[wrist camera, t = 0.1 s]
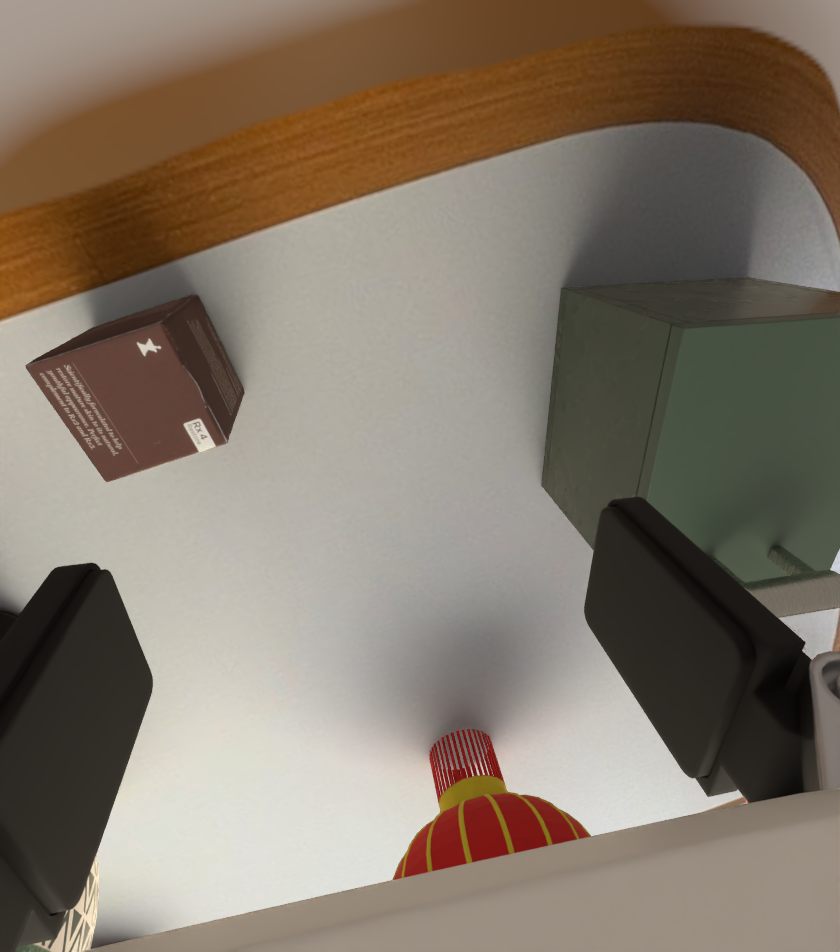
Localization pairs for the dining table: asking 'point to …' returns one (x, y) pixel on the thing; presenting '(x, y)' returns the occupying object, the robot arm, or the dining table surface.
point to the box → (143, 388)
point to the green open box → (632, 376)
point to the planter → (75, 922)
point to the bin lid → (754, 453)
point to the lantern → (482, 816)
